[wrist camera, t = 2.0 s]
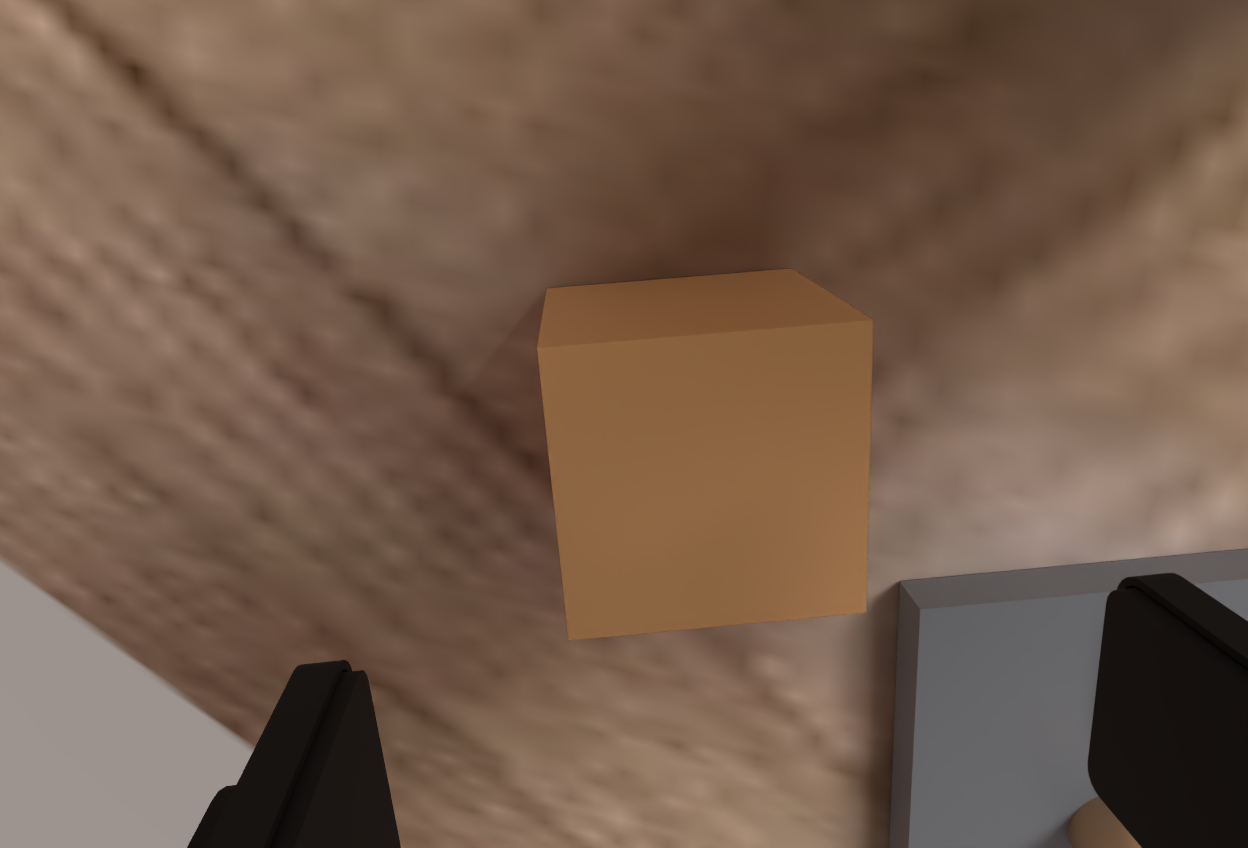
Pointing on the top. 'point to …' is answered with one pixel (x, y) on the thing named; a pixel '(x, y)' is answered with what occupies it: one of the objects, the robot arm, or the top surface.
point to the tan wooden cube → (707, 451)
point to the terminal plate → (1014, 701)
